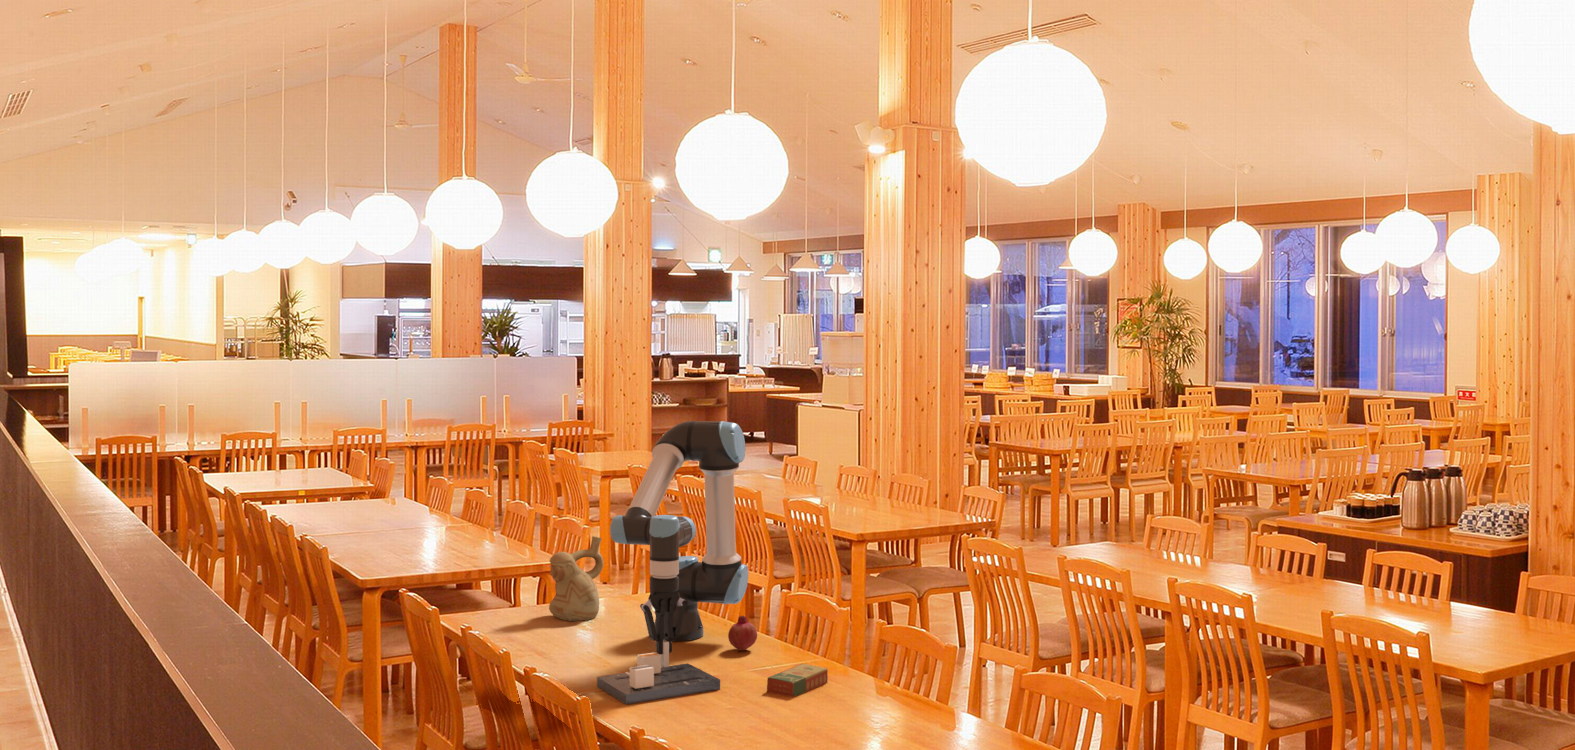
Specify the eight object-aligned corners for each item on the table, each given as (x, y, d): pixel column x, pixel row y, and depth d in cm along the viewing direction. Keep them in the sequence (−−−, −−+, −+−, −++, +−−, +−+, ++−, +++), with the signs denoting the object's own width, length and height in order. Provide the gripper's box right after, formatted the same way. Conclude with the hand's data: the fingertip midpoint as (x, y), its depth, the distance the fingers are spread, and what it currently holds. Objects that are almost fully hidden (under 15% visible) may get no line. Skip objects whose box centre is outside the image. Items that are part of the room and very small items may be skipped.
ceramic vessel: (536, 617, 402) (536, 538, 401) (588, 608, 415) (588, 532, 414) (565, 626, 389) (565, 545, 388) (618, 617, 403) (618, 538, 402)
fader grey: (647, 682, 319) (647, 663, 319) (653, 685, 316) (653, 667, 316) (629, 685, 317) (629, 666, 316) (635, 688, 314) (635, 669, 313)
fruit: (734, 655, 357) (734, 619, 357) (724, 648, 364) (724, 613, 364) (761, 652, 360) (761, 617, 360) (750, 645, 368) (750, 611, 367)
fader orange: (654, 669, 331) (654, 651, 331) (660, 672, 328) (660, 654, 328) (637, 672, 329) (637, 654, 328) (643, 675, 326) (643, 657, 325)
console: (687, 672, 339) (688, 662, 339) (720, 689, 324) (720, 679, 323) (597, 686, 325) (597, 676, 325) (626, 704, 310) (626, 693, 310)
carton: (828, 683, 330) (828, 667, 330) (793, 698, 317) (793, 681, 317) (801, 678, 335) (801, 662, 335) (766, 693, 322) (766, 676, 322)
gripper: (680, 570, 336) (679, 659, 337) (635, 575, 329) (635, 665, 330) (693, 575, 330) (693, 665, 331) (647, 580, 323) (647, 672, 324)
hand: (664, 665), depth 330 cm, fingers closed
